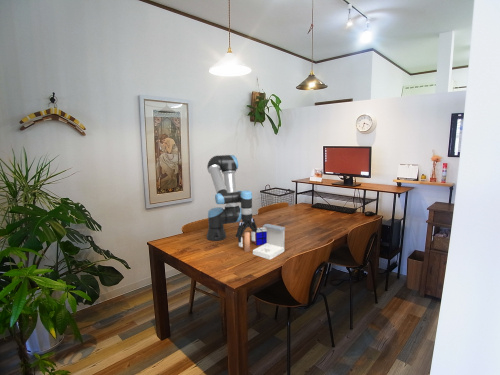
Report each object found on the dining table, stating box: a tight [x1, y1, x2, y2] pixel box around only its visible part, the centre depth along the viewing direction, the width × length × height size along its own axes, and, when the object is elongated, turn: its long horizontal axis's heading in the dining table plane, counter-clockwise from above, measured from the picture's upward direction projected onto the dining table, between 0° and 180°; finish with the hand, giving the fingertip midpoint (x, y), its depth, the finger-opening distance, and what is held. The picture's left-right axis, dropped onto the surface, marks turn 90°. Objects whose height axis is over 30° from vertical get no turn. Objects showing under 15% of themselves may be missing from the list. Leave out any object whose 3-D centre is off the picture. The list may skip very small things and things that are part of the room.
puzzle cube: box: [252, 226, 267, 246], centre depth 203 cm, size 10×10×10 cm
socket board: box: [252, 223, 286, 261], centre depth 183 cm, size 15×17×17 cm
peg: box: [243, 231, 251, 253], centre depth 187 cm, size 4×4×13 cm
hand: (247, 243), depth 188 cm, fingers open, 13 cm apart
